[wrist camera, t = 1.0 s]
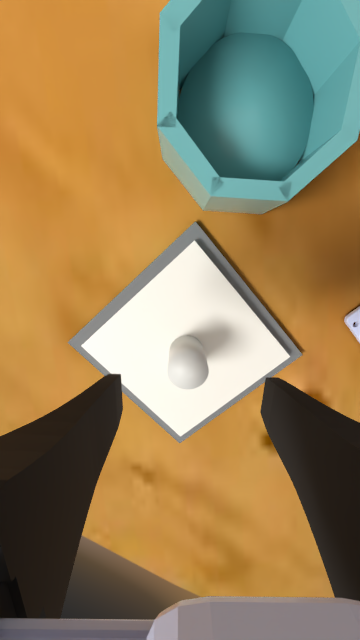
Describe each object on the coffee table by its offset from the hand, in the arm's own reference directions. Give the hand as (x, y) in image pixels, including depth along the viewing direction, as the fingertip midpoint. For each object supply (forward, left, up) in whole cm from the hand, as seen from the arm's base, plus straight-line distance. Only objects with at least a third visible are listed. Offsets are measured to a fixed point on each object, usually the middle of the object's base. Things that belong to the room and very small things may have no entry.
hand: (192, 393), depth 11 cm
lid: (-1, +1, -9) cm, 9 cm away
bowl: (+9, -13, -9) cm, 18 cm away
